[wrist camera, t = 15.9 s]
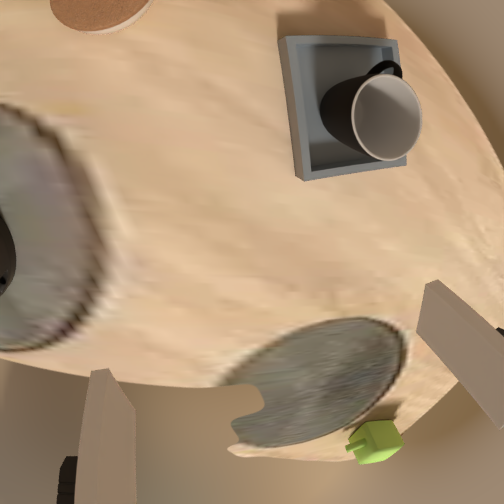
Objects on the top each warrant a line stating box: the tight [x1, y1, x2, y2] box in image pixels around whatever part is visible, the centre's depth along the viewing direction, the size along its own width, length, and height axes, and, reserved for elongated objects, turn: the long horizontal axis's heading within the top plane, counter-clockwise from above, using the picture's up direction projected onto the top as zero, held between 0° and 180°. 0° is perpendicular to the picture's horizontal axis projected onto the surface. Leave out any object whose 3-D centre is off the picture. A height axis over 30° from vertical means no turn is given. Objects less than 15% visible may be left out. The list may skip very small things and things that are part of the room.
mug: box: [320, 60, 422, 161], centre depth 31 cm, size 12×9×10 cm
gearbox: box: [345, 420, 404, 464], centre depth 70 cm, size 18×10×10 cm, turn 67°
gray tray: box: [278, 35, 406, 181], centre depth 35 cm, size 15×17×3 cm
